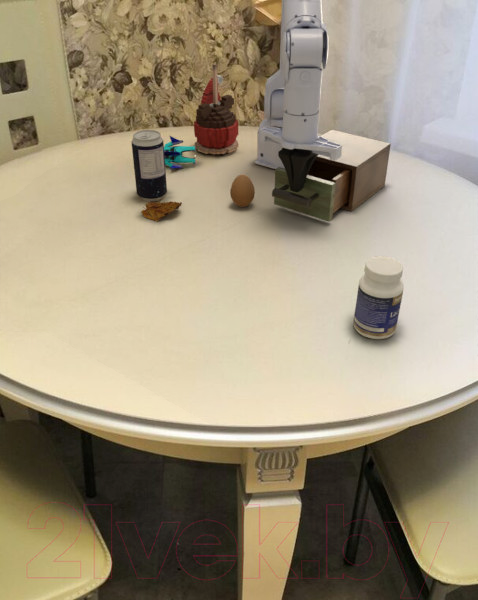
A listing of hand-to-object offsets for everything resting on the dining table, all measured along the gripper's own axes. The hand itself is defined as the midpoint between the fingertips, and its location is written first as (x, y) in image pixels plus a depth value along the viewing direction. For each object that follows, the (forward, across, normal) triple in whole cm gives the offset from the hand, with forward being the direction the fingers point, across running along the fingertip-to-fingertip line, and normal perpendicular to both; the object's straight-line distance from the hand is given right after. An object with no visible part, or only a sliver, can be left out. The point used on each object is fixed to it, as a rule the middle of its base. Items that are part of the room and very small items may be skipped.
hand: (296, 189), depth 105 cm
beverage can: (+6, -27, -8) cm, 29 cm away
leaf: (+6, -21, -12) cm, 25 cm away
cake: (+6, -32, +18) cm, 37 cm away
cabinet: (+6, 0, +16) cm, 17 cm away
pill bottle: (+6, +25, -20) cm, 32 cm away
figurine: (+6, -34, +4) cm, 35 cm away
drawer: (+5, 0, +6) cm, 8 cm away
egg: (+6, -11, -1) cm, 13 cm away
